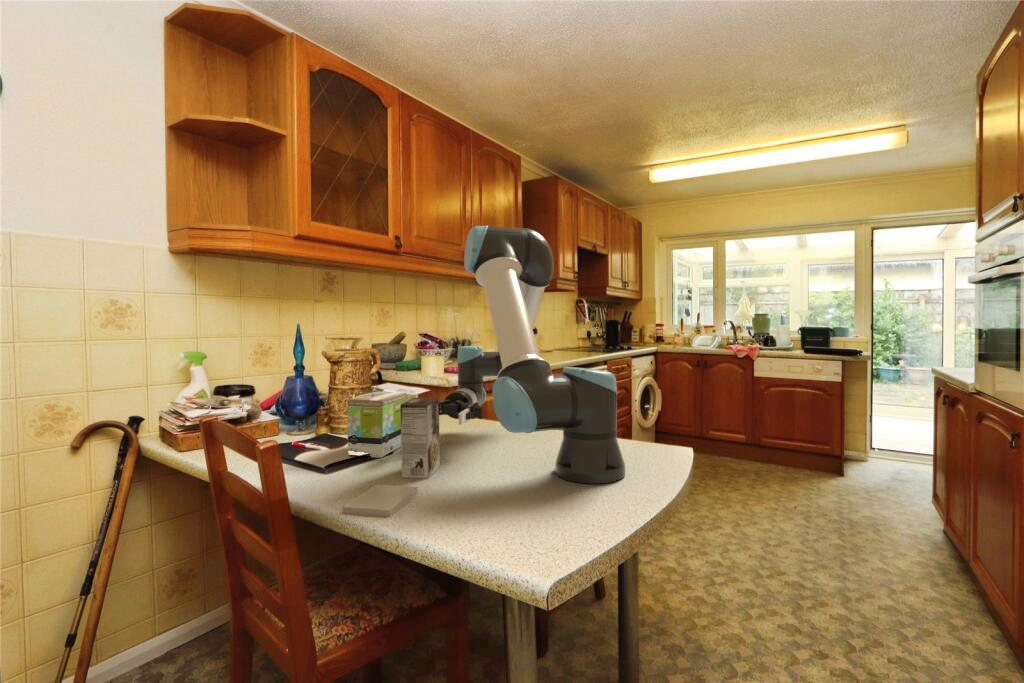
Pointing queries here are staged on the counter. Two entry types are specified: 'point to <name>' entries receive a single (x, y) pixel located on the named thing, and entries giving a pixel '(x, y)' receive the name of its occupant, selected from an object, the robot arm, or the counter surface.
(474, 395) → the robot arm
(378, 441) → the tea box
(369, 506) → the grey flat piece
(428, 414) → the coffee box
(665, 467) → the counter surface
